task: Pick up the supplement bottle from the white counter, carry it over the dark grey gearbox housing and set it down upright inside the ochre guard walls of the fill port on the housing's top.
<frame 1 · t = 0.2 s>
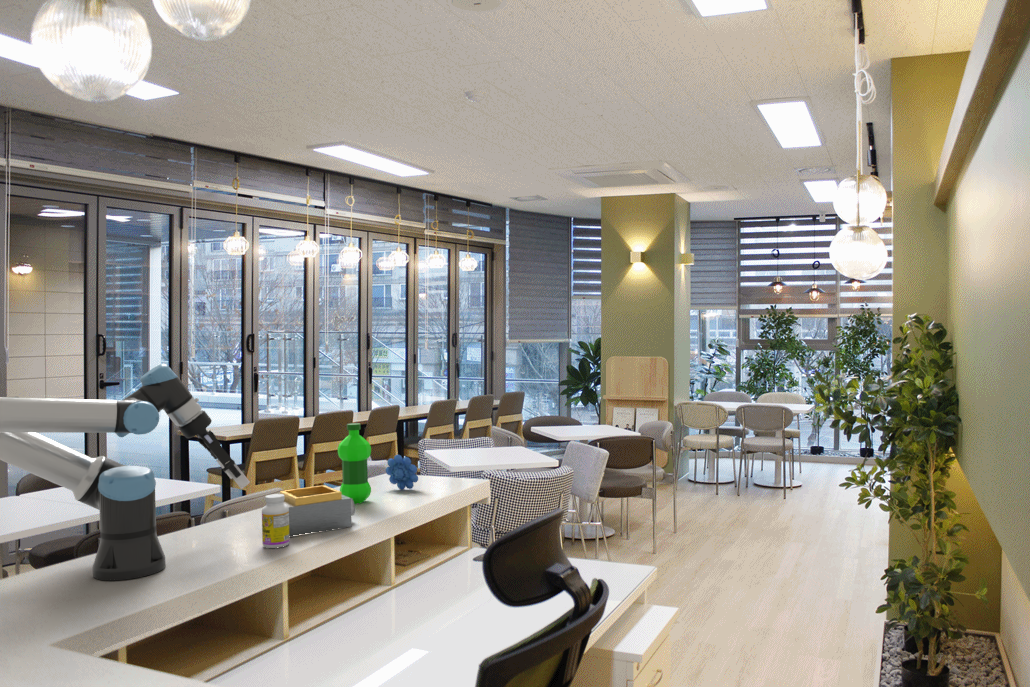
hand: (240, 480, 210), 15 cm above the table, tool tilted 35°, fingers open, 13 cm apart
gearbox: (311, 527, 221), on the table
plastic bottle: (355, 502, 253), on the table
supplement bottle: (276, 546, 203), on the table
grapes: (401, 490, 271), on the table
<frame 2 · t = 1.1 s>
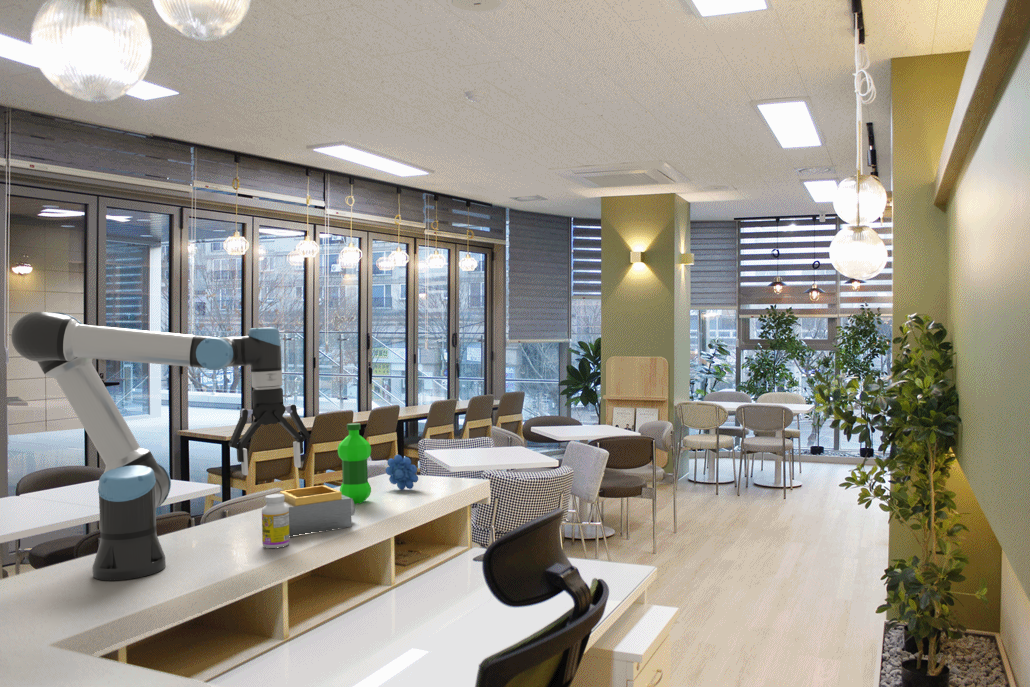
hand: (271, 470, 203), 19 cm above the table, tool pointing down, fingers open, 13 cm apart
nothing on the table moved.
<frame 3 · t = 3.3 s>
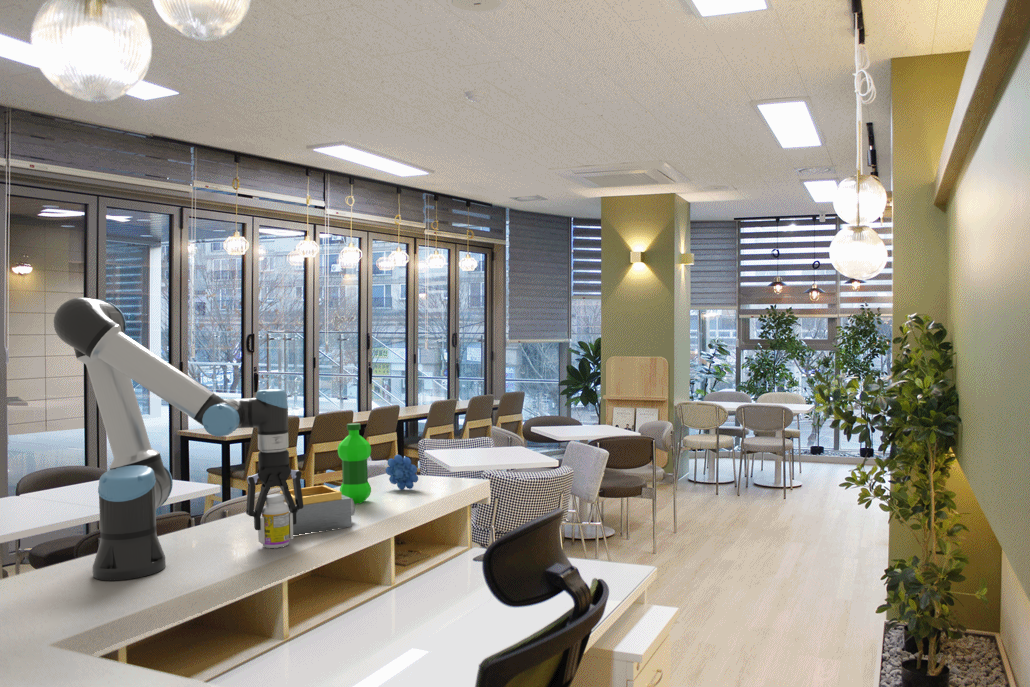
hand: (276, 539, 202), 2 cm above the table, tool pointing down, fingers closed on supplement bottle, 7 cm apart
supplement bottle: (276, 546, 203), on the table, touching gripper
everything else where it was.
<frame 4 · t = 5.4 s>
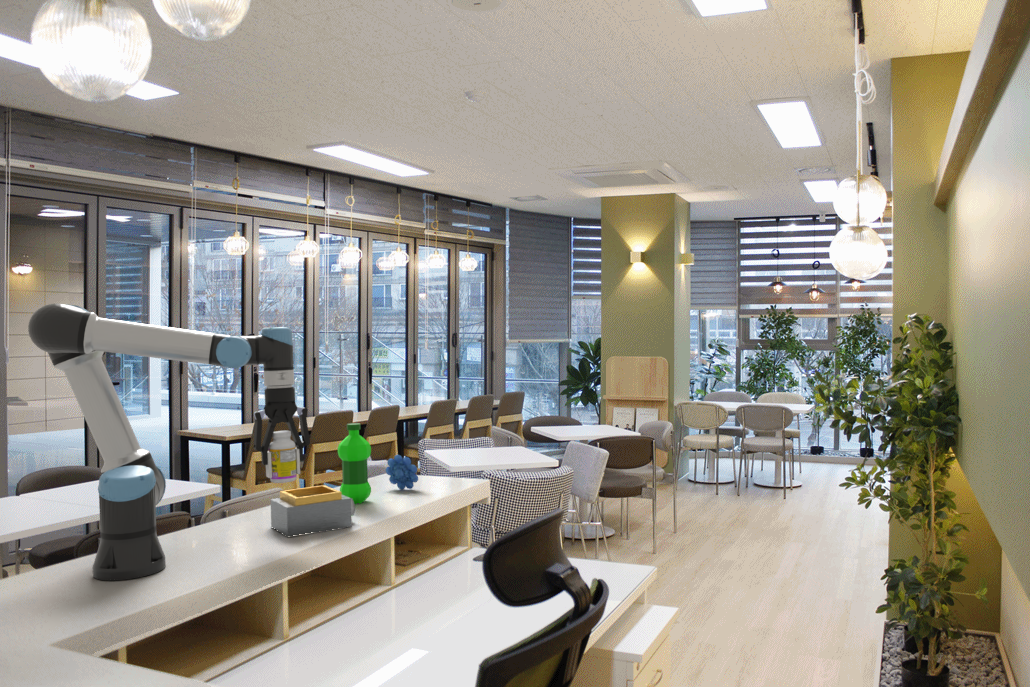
hand: (283, 475, 206), 17 cm above the table, tool pointing down, fingers closed on supplement bottle, 7 cm apart
supplement bottle: (283, 481, 206), point 16 cm above the table, touching gripper
everything else where it was.
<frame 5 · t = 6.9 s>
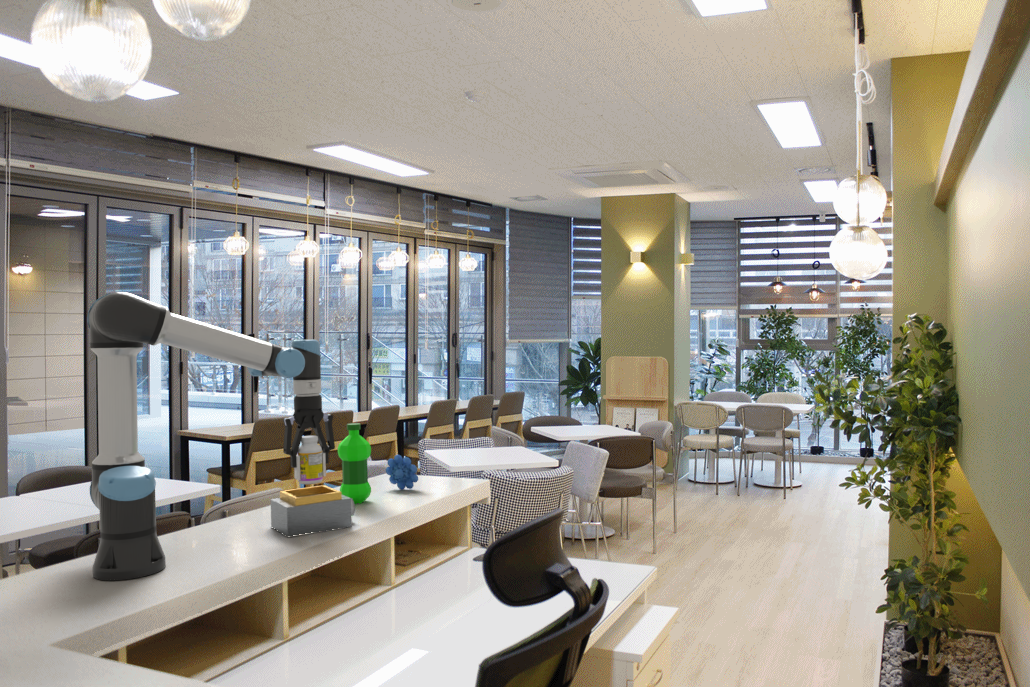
hand: (310, 477, 221), 14 cm above the table, tool pointing down, fingers closed on supplement bottle, 7 cm apart
supplement bottle: (310, 483, 221), point 12 cm above the table, touching gripper
everything else where it was.
when the fingers open (11 cm above the table, at t = 7.6 s): supplement bottle drops 2 cm, resting on gearbox.
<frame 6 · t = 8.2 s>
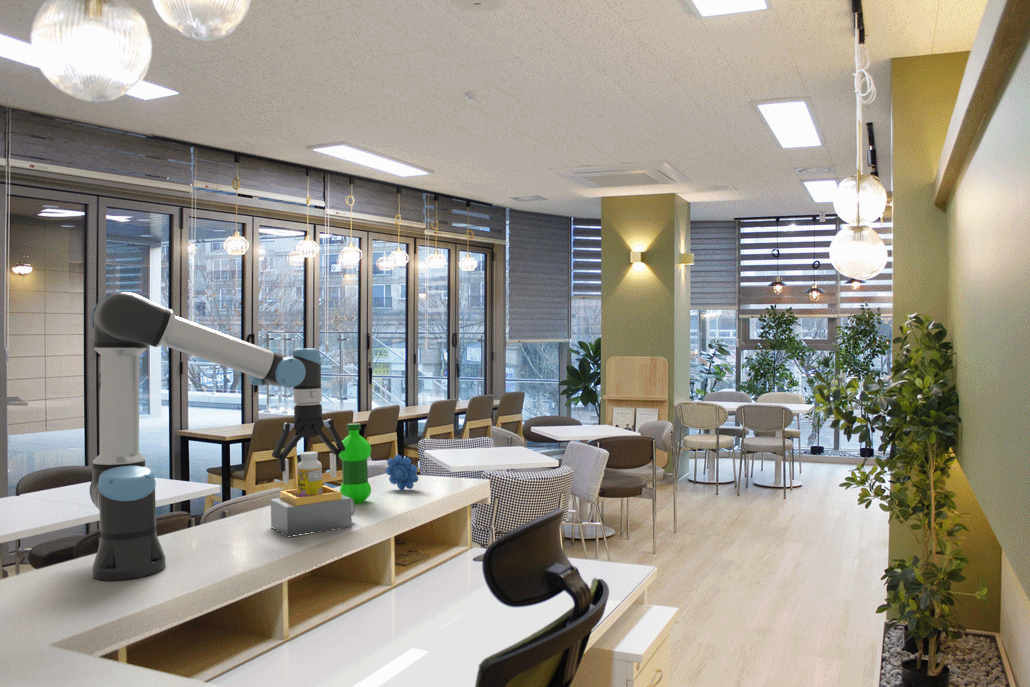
hand: (310, 480, 221), 13 cm above the table, tool pointing down, fingers open, 13 cm apart
supplement bottle: (310, 499, 221), point 8 cm above the table, touching gearbox
everything else where it was.
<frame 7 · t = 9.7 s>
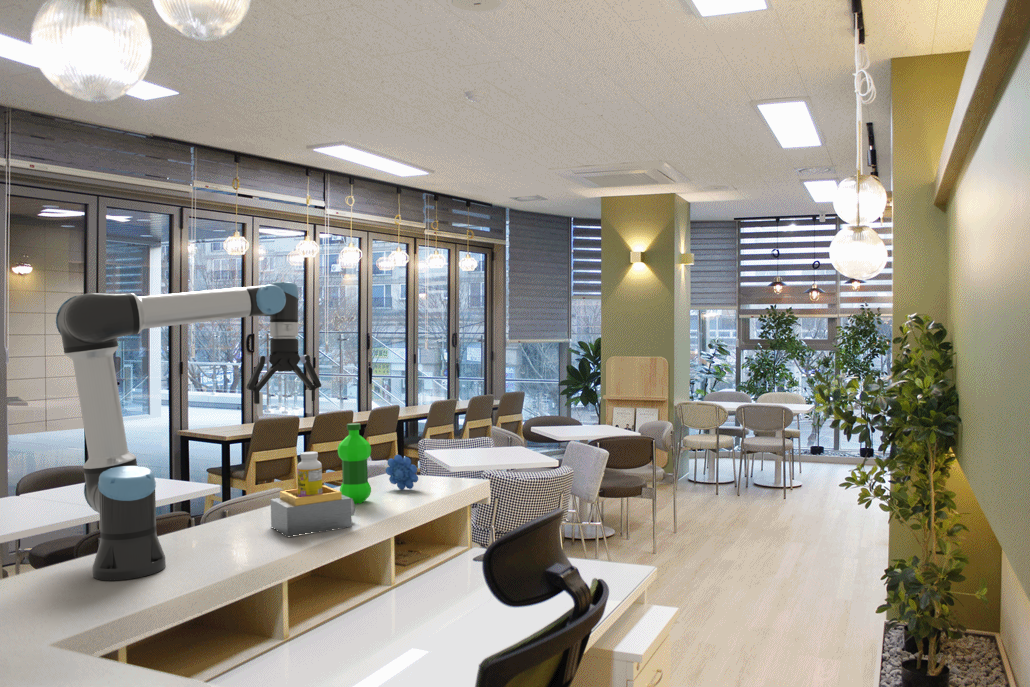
hand: (284, 414, 220), 32 cm above the table, tool pointing down, fingers open, 13 cm apart
nothing on the table moved.
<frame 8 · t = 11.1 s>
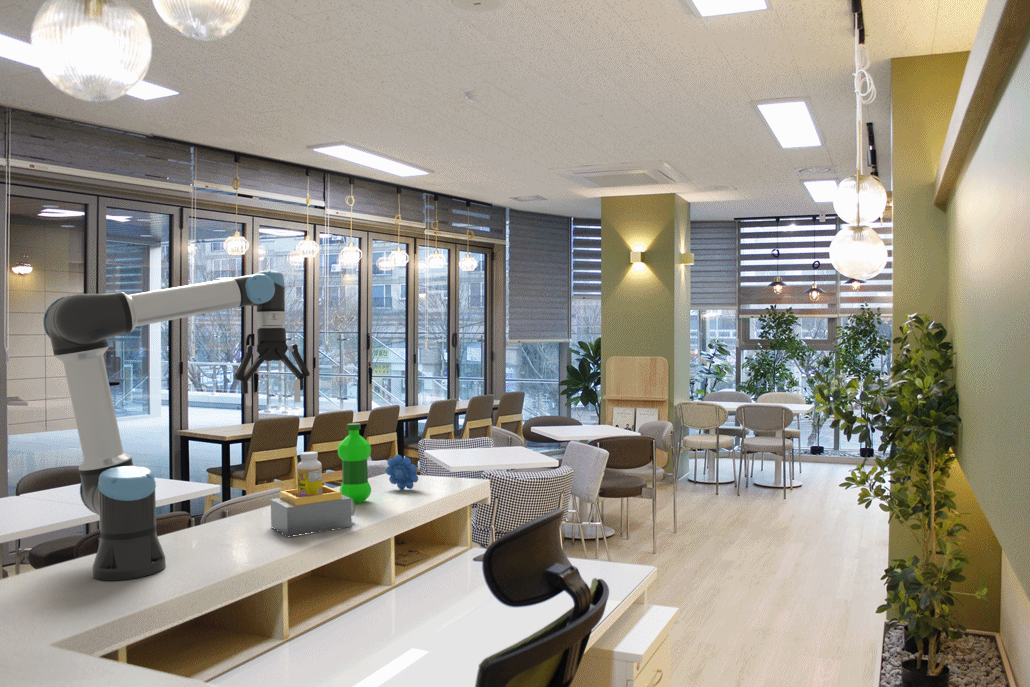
hand: (273, 404, 220), 35 cm above the table, tool pointing down, fingers open, 13 cm apart
nothing on the table moved.
at the end: supplement bottle inside the target area on the gearbox (0.1 cm from its centre), point 7.8 cm above the gearbox's base; supplement bottle tilted 0°; the gripper is holding nothing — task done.
